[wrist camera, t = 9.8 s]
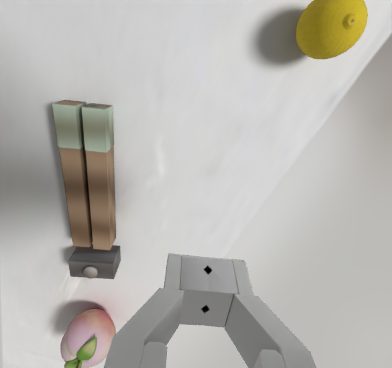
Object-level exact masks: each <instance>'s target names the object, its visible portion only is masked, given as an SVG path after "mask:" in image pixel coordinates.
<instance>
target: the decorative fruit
mask: <svg viewBox="0 0 392 368" xmlns="http://www.w3.org/2000/svg"><path fill="white" fill-rule="evenodd" d="M115 335H116V331H115V326H114V323H113V321H112V319H111V317H110V316H109V315H108V314H107V313H106V312H105V311H103V310H100V309H90V310H86V311H84V312H82V313H81V314H79V315H78V316H77V317H76V318H75V319H74V320H73V321H72V322H71V324H70V325H69V327H68V330H67V331H66V333H65V335H64V336H63V338H62V341H61V348H60V349H61V355H62V358H63V359H64V361H65V362H66V364H65V365H64V367H65V368H88V367H92V366H95V365H97V364H99V363H100V362H102V361H103V360H104V359H105V358H106V357H107V355H108V352H109V349H110V345H111V342H112V338H113V337H114V336H115Z"/></svg>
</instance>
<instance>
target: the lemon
mask: <svg viewBox="0 0 392 368" xmlns="http://www.w3.org/2000/svg"><path fill="white" fill-rule="evenodd" d="M367 16H368V14H367V7H366V5H365V2H364V0H314V1H312V2H311V3H310V4H309V5H308V6H307V8H306V9H305V10H304V11H303V13H302V15H301V16H300V18H299V21H298V24H297V27H296V41H297V44H298V46H299V48H300V49H301V51H302V52H303V53H304V54H306V55H307V56H309V57H312V58H314V59H328V58H332V57H336V56H338V55H340V54H342V53H344V52H346V51H347V50H348V49H350V48H351V47H352V46H353V45H354V44H355V43H356V42H357V41H358V40H359V38H360V37H361V35H362V33H363V32H364V29H365V26H366V23H367Z"/></svg>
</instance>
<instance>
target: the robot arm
mask: <svg viewBox="0 0 392 368" xmlns="http://www.w3.org/2000/svg"><path fill="white" fill-rule="evenodd" d="M179 324H188V325H206V326H216V327H225V330H226V332H227V333H228V335H229V337H230V338H231V340H232V341H233V343H234V345H235V346H236V348H237V350H238V351H239V353H240V355H241V356H242V358H243V359H244V361H245V363H246V364H247V366H248V368H316V366H315V363H314V361H313V358H312V356H311V353H310V351H309V350H308V349H307V348H306V347H305V346H304V345H303V344H302V343H301V341H300V340H299V339H298V338H297V337H296V336H295V335H294V334H293V333H292V332H291V331H290V330H289V329H288V328H287V327H286V326H285V324H284V323H283V322H282V321H281V320H280V319H279V318H278V317H277V316H276V315H275V314H274V313H273V312H272V311H271V310H270V309H269V308H268V306H267V305H266V304H265V303H264V302H263V301H262V300H261V299H260V298H259V297H258V296H254V294H253V290H252V286H251V282H250V278H249V274H248V270H247V266H246V262H245V261H244V260H236V259H232V260H231V259H223V258H210V257H199V256H190V255H182V256H181V255H178V254H170V253H169V255H168V259H167V267H166V275H165V282H164V288H159V289H158V291H157V292H156V293H155V294H154V295H153V296H152V297H151V298H150V299H149V300H148V301H147V302H146V303H145V304H144V305H143V306H142V307H141V308H140V309H139V311H138V312H137V313H136V314H135V315H134V316H133V317H132V318H131V319H130V320H129V321H128V322H127V323H126V324H125V325H124V326H123V327H122V328H121V330H120V331H119V332H118V333H117V334H116V335H115V336H114V337H113V338H112V342H111V345H110V349H109V352H108V355H107V359H106V362H105V366H104V368H166V356H167V347H166V345H167V343H168V342H169V340H170V339H171V337H172V335H173V334H174V333H175V331H176V329H177V328H178V326H179Z"/></svg>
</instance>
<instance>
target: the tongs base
mask: <svg viewBox="0 0 392 368" xmlns="http://www.w3.org/2000/svg"><path fill="white" fill-rule="evenodd" d="M83 106H86V102H80V101H70V100H63V101H60V102H56V103H53V104H52V107H53V114H54V121H55V128H56V135H57V142H58V147H59V149H60V157H61V164H62V171H63V178H64V185H65V192H66V199H67V206H68V213H69V220H70V227H71V234H72V241H73V246H77V248H76V250H75V251H74V253H73V254H72V256H71V258H70V259H69V261H68V263H69V269H70V275H71V276H72V277H87V278H104V279H114V277H115V274H116V272H117V269H118V266H119V263H120V261H121V258H120V246H112V247H111V250H101V249H93V244H92V243H93V237H92V224H91V211H90V198H89V186H88V173H87V160H86V150H85V143H84V130H83V117H82V107H83Z"/></svg>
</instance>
